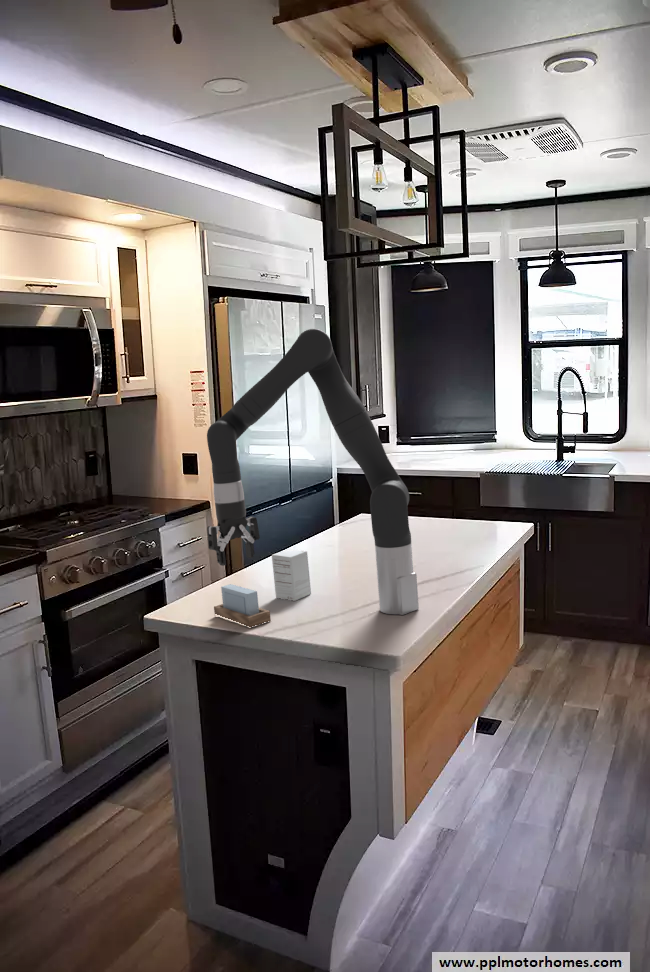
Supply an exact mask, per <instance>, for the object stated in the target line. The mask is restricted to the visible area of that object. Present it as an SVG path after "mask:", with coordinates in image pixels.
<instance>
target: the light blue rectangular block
mask: <svg viewBox="0 0 650 972" xmlns="http://www.w3.org/2000/svg"><path fill="white" fill-rule="evenodd" d="M220 589H221V597H222V604H223V608H226V609H229V610H233V611H236V612H239V613H242V614H245V615H249V616H251V615H254V614H257V613H259V608H260V607H259V598H258V596H259V595H258V590H255V589H252V588H251V589H250V588H246V587H242V586H240V585H239V586H238V585H236V584H232V583H230V584H226V585H222V586H221V587H220Z"/></svg>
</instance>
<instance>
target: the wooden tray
mask: <svg viewBox="0 0 650 972" xmlns="http://www.w3.org/2000/svg"><path fill="white" fill-rule="evenodd" d="M213 611H214V615H215V614H217V615H220V616H222V617H225V618H228V619H231V620H233V621H236V622H239V623H241V624H244V625H246V626H249V627H252V626H255V625H259V624H262V623H264V622H268V621H271V620H272V619H271V611H270V610H268V609H265V608H261V607H259V613H257V614H254V615H251V616H249V615H245V614H242V613H239V612H236V611H233V610H229V609H226V608H223V603H222V604H218V605H216V606H213ZM271 622H272V621H271ZM268 623H269V622H268ZM262 625H263V624H262ZM259 626H260V625H259Z"/></svg>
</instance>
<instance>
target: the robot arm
mask: <svg viewBox="0 0 650 972" xmlns="http://www.w3.org/2000/svg"><path fill="white" fill-rule="evenodd" d="M307 373H308V374H309V375H310V377H311V379H312V381H313V383H314V384H315V385H316V388H317V390H318V392H319V394H320V397H321V400H322V403H323V405H324V409H325V410H326V413H327V416H328V418H329V420H330V422H331V425H332V427H333V430H334V431H335V433H336V436H337V437H338V438H339V441H340V443H341V445H343V447H344V448H345V450H346V451H347V453H348V454H349V455H350V456H351V458H353V460H354V461H355V463H356V464H358V466H359V467H360V469H361V471H362V472H363V473H364V477H365V478H366V480H367V482H368V485H369V487H370V488H369V489H370V490H371V494H370V499H369V508H370V509H369V510H370V521H371V529H372V535H373V540H374V549H375V563H376V565H375V566H376V576H377V577H376V579H377V590H378V602H379V611H380V612H381V613H383V614H387V615H400V616H404V615H406V614H409V613H411V612H415V611H417V610H419V609H420V607H419V592H418V590H419V589H418V580H417V578H418V576H417V573H416V572H414V565H413V564H414V563H413V547H412V535H411V534H412V533H411V530H410V524H409V511H408V510H409V509H408V505H409V504H410V503H409V502H410V493H409V490H408V487H407V486H406V484H405V483H404V481H403V480H402V478H401V477H400V475H399V474H398V472H397V471H396V469H395V467H394V466H393V464H392V462H391V461H390V459H389V457H388V455H387V454H386V451H385V448H384V445H383V443H382V441H381V439H380V436H379V434H378V432H377V429H376V428H375V426H374V423H373V421H372V419H371V418H370V416H369V413H368V411H367V410H366V408H365V405H364V404H363V402H362V401H361V399H360V397H359V396H358V395H357V393H356V392H355V391H354V388H353V387H352V386H351V385H350V383H349V382H348V381H347V379H346V377H345V375H344V373H343V372H342V369H341V367H340V364H339V362H338V360H337V357H336V355H335V351H334V349H333V344H332V340H331V338H330V336H329V335H328V333H326V332H325V331H323V330H321V329H318V328H310V329H305V330H304V331H302V332H301V333H300V334H299V336H297V339H296V340H295V342H294V343H293V344H292V346H291V347H290V348H289V349H288V351H287V352H286V354H284V356H283V357H281V359H280V361H279V362H278V363H277V364H276V365H275V366H274V367H272V368H271V370H269V372H267V374H265V375H264V376H263V377H262V378H261V379H260V380H258V382H256V383H255V384H254V385H253V386H251V387H250V388H249V389H248V390H247V391H246V392H245V393H244V394H243V395H242V396H241V397H240V398H239V399H238V400H237V401H236V402H235V403H234V404H233V406H232V407H231V408H230V409H229V410H228V411H227V412H225V413H224V414H223V415H222V416H221V417H219V419H217V420H216V421H215V422H214V423H212V424H211V425H210V426H209V427H208V429H207V431H206V442H207V443H206V444H207V447H208V448H207V449H208V452H209V458H210V461H211V473H212V481H213V498H214V506H215V515H216V516H215V517H216V520H217V525H215V526H214V525H213V526H211V525H208V526H207V528H206V531H207V532H206V533H207V546H208V550H211V551H215V553H216V559H217V560H216V561H217V564H219V566H223V567H224V566H227V559H226V552H225V548H226V546H227V544H229V541H231V540H235V539H239V538H241V539H243V541H244V542H245V543H244V545H245V554H246V555H245V556H246V558H247V559H254V555H255V546H254V545H255V544H254V543H255V542H256V541H258V540H259V539H260V530H259V525H258V524H259V523H258V519H257V517H256V516H255V517H254V516H248V517H247V518H246V516H247V509H246V501H245V493H244V491H245V490H244V486H243V483H242V476H241V466H240V462H239V460H238V456H237V446H236V445H237V444H236V441H237V440H238V439H239V438H240V437H241V436H242V435H243V434H244V433H245V432H246V431H247V430H248V429H249V427H251V426H253V425H254V424H256V423H257V422H258V421H259V420H260V419H261V418H262V417H263V416H264V415H265V414H267V412H268V411H270V409H272V408H273V406H274V405H275V404H276V403H277V402H279V400H280V399H281V398H282V396H284V394H285V393H286V392H287V391H288V390H289V389H290V388H291V386H292V385H294V384H295V382H297V381H298V380H299V379H300V378H301V377H302V376H304V375H305V374H307ZM247 526H248V528H249V529H248V530H249V531H248V530H247ZM218 534H219V535H218Z"/></svg>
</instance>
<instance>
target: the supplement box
mask: <svg viewBox="0 0 650 972" xmlns="http://www.w3.org/2000/svg"><path fill="white" fill-rule="evenodd" d="M308 555H309V554H308V551H307V550H302V549H291V548H290V549H289V548H287V549H285V550H281V551H279V552H276V553H273V554H271V561H272V569H273V573H272V574H273V580H274V591H275V598H276V599H279V598H281V600H285V599H288V600H287V601H291V600H293V602H295V601H298V600H300V599H303V598H304V597H307V596H310V595H311V594H312V590H311V589H312V588H311V578H310V567H309V558H308V557H309V556H308Z"/></svg>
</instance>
